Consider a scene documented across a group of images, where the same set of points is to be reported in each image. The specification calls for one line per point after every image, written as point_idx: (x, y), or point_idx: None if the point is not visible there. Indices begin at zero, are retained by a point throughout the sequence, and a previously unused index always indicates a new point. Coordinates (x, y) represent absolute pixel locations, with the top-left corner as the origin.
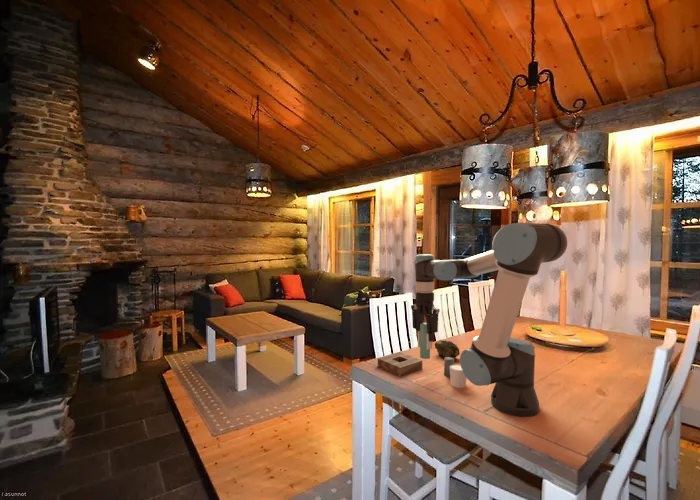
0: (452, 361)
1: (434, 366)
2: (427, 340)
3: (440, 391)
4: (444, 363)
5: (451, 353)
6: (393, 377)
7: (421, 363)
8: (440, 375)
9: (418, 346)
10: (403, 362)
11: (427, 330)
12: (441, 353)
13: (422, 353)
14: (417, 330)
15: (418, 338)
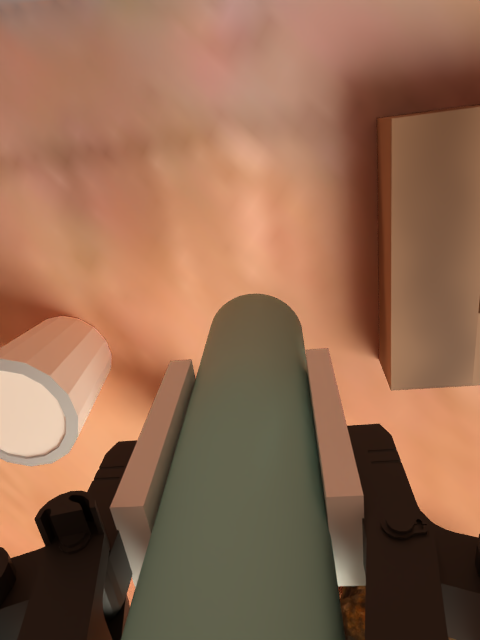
0: None
1: None
2: (151, 427)
3: (32, 195)
4: None
5: (351, 603)
6: (391, 43)
7: (386, 370)
8: None
9: (318, 350)
10: (464, 234)
11: (139, 575)
12: None
13: (239, 314)
14: (379, 508)
15: (329, 410)
